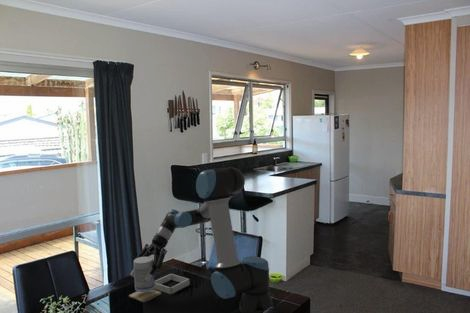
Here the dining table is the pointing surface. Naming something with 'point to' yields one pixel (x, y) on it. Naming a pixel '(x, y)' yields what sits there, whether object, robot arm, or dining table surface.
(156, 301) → the dining table surface
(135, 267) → the supplement tub
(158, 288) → the grey square frame
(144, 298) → the birch board
